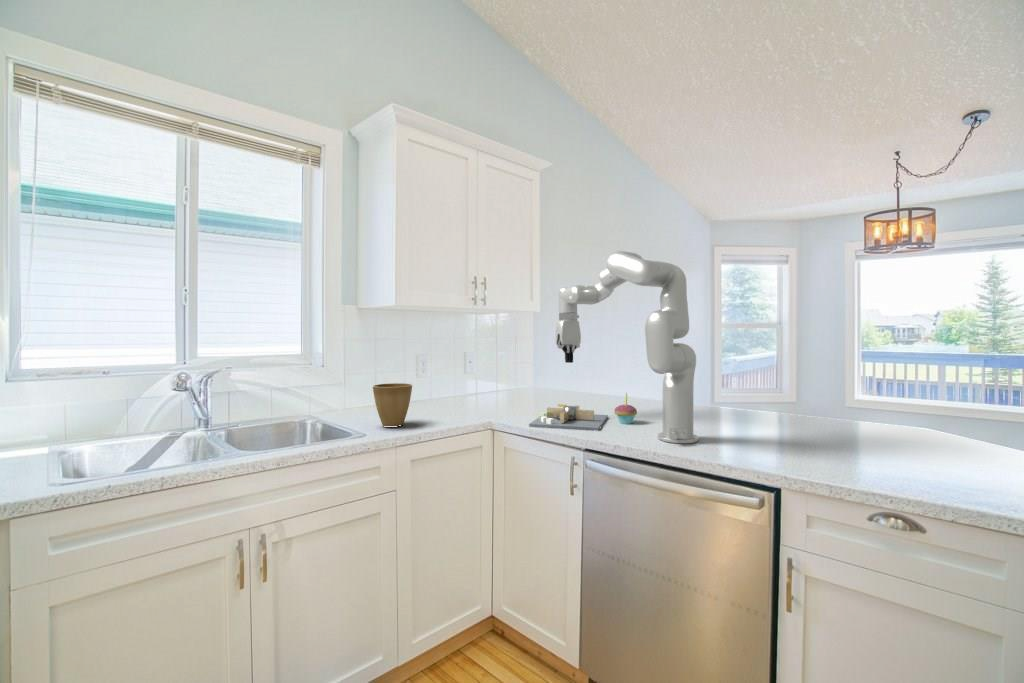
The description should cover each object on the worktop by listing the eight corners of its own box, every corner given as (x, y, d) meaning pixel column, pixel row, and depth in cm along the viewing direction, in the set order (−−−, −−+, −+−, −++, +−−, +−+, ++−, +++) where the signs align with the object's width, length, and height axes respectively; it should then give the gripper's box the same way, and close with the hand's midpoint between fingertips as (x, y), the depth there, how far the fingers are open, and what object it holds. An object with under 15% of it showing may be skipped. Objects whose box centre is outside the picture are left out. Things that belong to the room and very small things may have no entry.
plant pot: (407, 429, 173) (407, 387, 173) (368, 430, 174) (367, 387, 173) (416, 421, 188) (416, 382, 188) (380, 422, 189) (379, 382, 188)
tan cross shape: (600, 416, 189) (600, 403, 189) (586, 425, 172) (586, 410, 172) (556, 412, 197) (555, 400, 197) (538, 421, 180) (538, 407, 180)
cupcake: (639, 425, 177) (639, 393, 177) (616, 425, 177) (616, 393, 177) (633, 420, 186) (633, 390, 185) (612, 420, 186) (612, 390, 186)
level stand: (598, 430, 168) (598, 422, 168) (529, 426, 177) (529, 419, 177) (607, 417, 193) (607, 410, 193) (546, 414, 201) (546, 407, 201)
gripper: (576, 318, 198) (577, 361, 199) (547, 318, 191) (548, 363, 191) (588, 317, 192) (589, 361, 192) (558, 317, 184) (559, 363, 185)
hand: (569, 362), depth 192 cm, fingers closed
